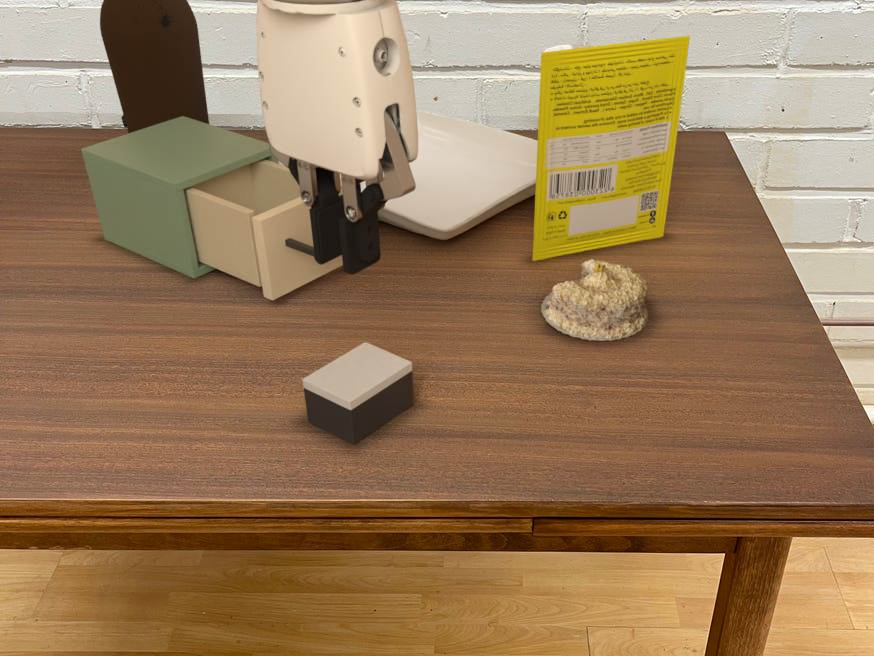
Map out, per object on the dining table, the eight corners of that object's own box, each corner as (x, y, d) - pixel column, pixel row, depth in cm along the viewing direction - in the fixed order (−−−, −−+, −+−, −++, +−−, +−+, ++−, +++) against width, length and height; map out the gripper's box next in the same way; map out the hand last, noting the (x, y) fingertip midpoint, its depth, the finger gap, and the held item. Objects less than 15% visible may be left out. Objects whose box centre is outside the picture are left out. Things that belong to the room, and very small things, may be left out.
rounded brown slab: (235, 150, 121) (200, -75, 105) (187, 180, 113) (142, -59, 97) (163, 140, 123) (119, -82, 108) (112, 168, 116) (56, -66, 100)
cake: (661, 307, 90) (673, 256, 87) (626, 358, 84) (637, 305, 80) (565, 277, 93) (572, 227, 90) (523, 324, 86) (529, 271, 83)
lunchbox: (354, 445, 72) (349, 401, 70) (307, 422, 75) (301, 378, 72) (414, 404, 77) (412, 361, 74) (368, 383, 79) (365, 341, 77)
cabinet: (288, 235, 101) (277, 145, 95) (194, 279, 93) (175, 183, 87) (199, 201, 108) (182, 115, 102) (104, 239, 100) (80, 148, 94)
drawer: (396, 272, 93) (392, 194, 88) (312, 318, 86) (302, 236, 81) (265, 222, 102) (254, 149, 97) (179, 260, 95) (162, 183, 90)
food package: (660, 235, 102) (687, 34, 89) (665, 239, 101) (693, 37, 88) (530, 259, 97) (538, 51, 85) (534, 263, 96) (544, 54, 84)
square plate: (447, 264, 96) (447, 227, 94) (261, 198, 109) (256, 164, 107) (590, 182, 113) (593, 149, 111) (414, 133, 126) (412, 103, 123)
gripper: (468, -20, 55) (469, 274, 66) (276, -53, 62) (307, 216, 74) (379, 5, 50) (397, 316, 61) (183, -35, 57) (232, 249, 69)
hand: (348, 259), depth 67 cm, fingers closed
